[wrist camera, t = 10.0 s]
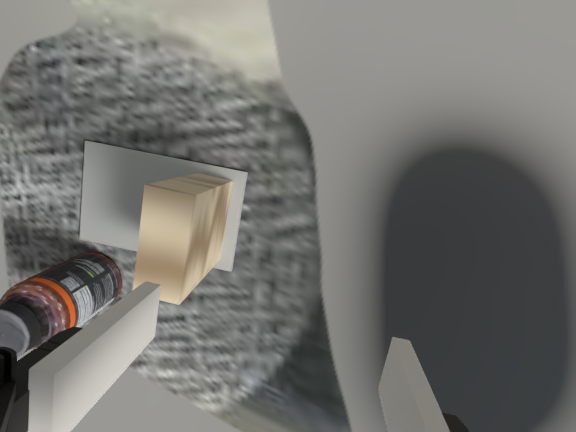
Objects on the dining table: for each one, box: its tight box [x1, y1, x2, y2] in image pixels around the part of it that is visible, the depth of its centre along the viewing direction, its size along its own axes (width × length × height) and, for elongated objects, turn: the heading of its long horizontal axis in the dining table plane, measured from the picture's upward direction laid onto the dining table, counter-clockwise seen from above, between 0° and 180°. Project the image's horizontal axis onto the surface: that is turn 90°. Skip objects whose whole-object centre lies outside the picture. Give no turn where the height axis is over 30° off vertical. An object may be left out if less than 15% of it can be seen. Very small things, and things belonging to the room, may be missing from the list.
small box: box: [133, 173, 233, 305], centre depth 29 cm, size 8×4×10 cm, turn 169°
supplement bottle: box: [0, 253, 122, 356], centre depth 31 cm, size 6×6×11 cm
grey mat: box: [79, 141, 248, 271], centre depth 34 cm, size 10×16×1 cm, turn 80°
